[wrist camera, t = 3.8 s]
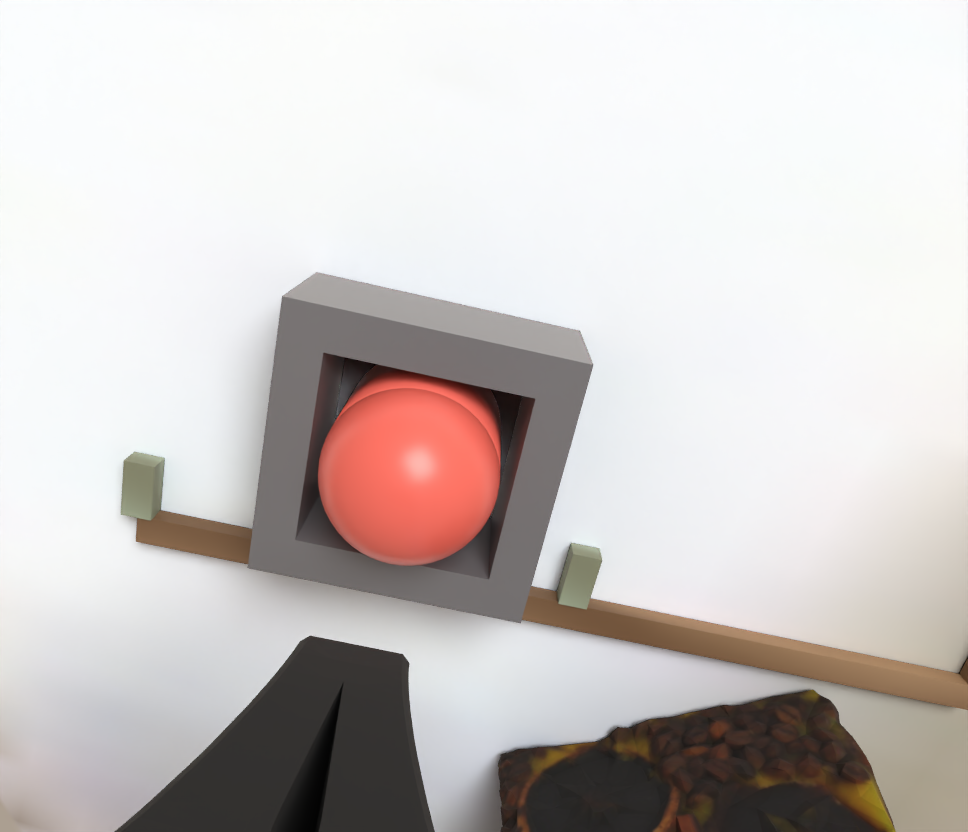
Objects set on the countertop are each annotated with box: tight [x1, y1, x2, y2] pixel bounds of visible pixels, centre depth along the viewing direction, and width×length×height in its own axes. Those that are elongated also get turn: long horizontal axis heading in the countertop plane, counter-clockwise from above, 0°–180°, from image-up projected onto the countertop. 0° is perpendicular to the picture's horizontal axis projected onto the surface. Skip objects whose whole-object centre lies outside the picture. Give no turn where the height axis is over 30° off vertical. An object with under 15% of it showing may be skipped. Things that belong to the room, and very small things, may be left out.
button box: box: [248, 272, 593, 623], centre depth 18 cm, size 7×7×3 cm
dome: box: [318, 364, 501, 566], centre depth 17 cm, size 4×4×5 cm
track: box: [121, 452, 968, 710], centre depth 23 cm, size 17×25×1 cm
